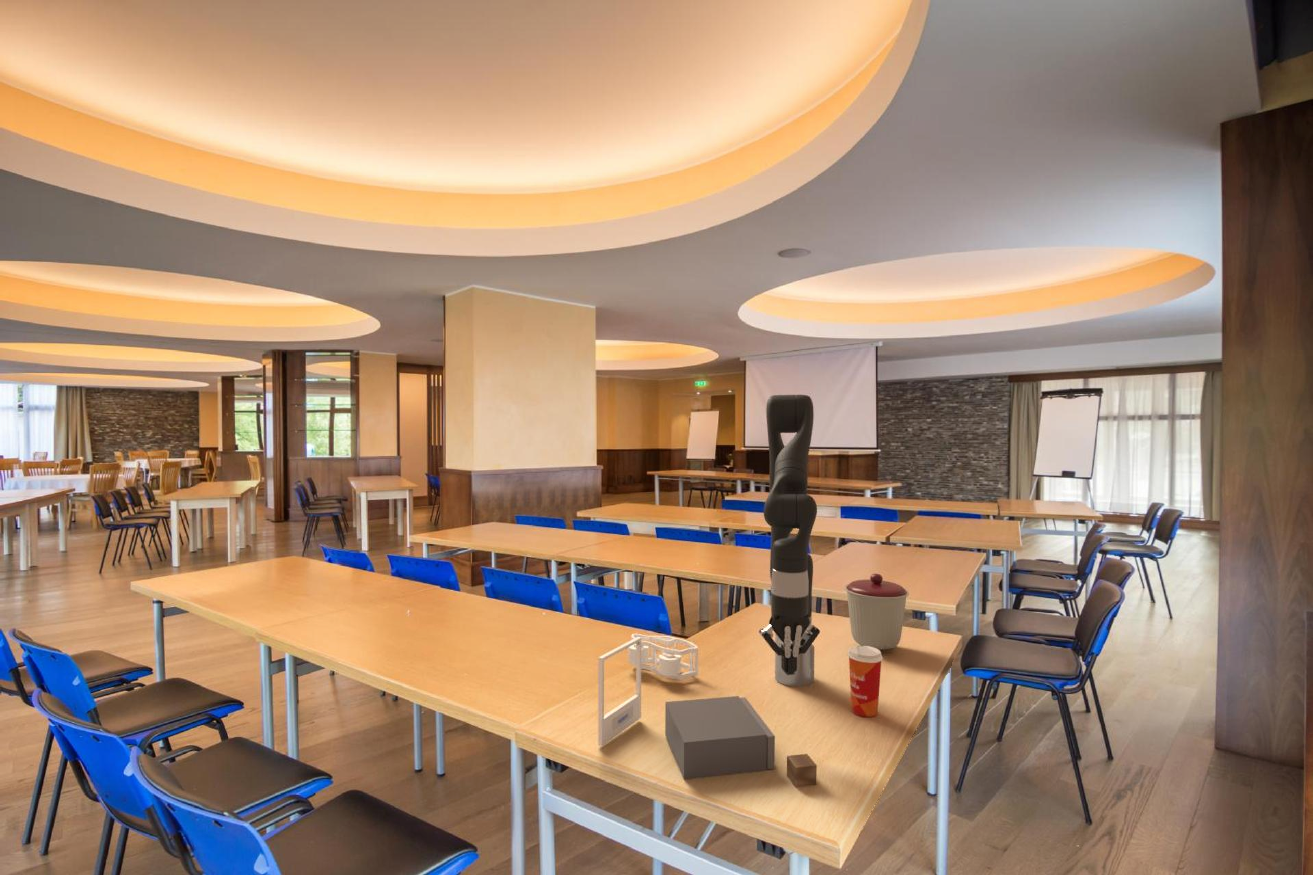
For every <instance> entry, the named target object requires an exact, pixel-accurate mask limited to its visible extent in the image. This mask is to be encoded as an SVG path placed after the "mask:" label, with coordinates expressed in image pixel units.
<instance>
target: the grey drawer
mask: <svg viewBox="0 0 1313 875" xmlns="http://www.w3.org/2000/svg"><path fill="white" fill-rule="evenodd" d="M739 698H740V699H741V700H742V702H743V703H744V704H745V706H746V707H747V709H748V710H749V711H750V713H751V714H752V715H753V717H754V718H755V719H756V721H757V722H758V723H759V725H760V726H761V727H762V729H763V730H764V732H765V733H766V734H767V770H772V769H773V770H774V769H775V766H776V765H775V762H776V761H775V756H776V755H775V753H776V752H775V749H776V748H775V746H776V740H775V738H776V735H775V734H774V733H773V732H772V730H771V729H770V728H769V726H768V725H767V724H766V723H765V721H764V720H763V719H762V717H761V716H760V715H759V714H758V712H757V711H756V710H755V708H754V707H753V705H752V703H750V701H749V700H748V698H747V697H739Z"/></svg>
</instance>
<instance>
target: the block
mask: <svg viewBox="0 0 1313 875" xmlns="http://www.w3.org/2000/svg"><path fill="white" fill-rule="evenodd" d="M817 768H818V767H817V764H816V763H815V761H814V760H813V759H812V758H811V757H810V755H809V754H808V753H803V754H794V755H793V754H792V755H787V756H786V777H787V778H788V779H789V781H790V782H791V784H792V785H793V786H794V787H795V788H801V787H809V786H816V785H817Z"/></svg>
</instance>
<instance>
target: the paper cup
mask: <svg viewBox="0 0 1313 875" xmlns="http://www.w3.org/2000/svg"><path fill="white" fill-rule="evenodd" d="M846 656H848V665H849V666H848V667H849V686H850V687H849V688H850V689H849V690H850V703H851V712H853V713H854V714H855V715H858V716H860V717H865V718H872V717H875V716H877V714H878V709H879V697H880V683H881V673H882V672H881V670H882V661H883V659H884V658H883V656H882V652H881V650H879V649H876V648H874V647H870V646H861V645H853V646H851V647H849V650H848V651H847V655H846Z"/></svg>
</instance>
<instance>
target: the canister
mask: <svg viewBox="0 0 1313 875" xmlns="http://www.w3.org/2000/svg"><path fill="white" fill-rule="evenodd" d="M883 579H884V578H883V576H882V574H880V573H872V574H870V577H869V579H858V580H854V581H851V582H849V583H848V584H846V585H845V586H844V590H845V591H846V596H847V605H848V615H849V624H850V631H851V636H852V638H853V641H854V642H855V643H857V644H858V646H862V647H863V646H870V647H874V648H876V649H878V650H879V651H881V650H891V649H894V648H896V647H897V646H899V644H900V641H901V638H902V632H903V627H904V626H903V625H904V618H905V610H906V602H907V597H909V595H910V592H909V590H908V589H906V588H904V587H903V586H902V585H900V584H898V583H895V582H892V581H887V580H883Z"/></svg>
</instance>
